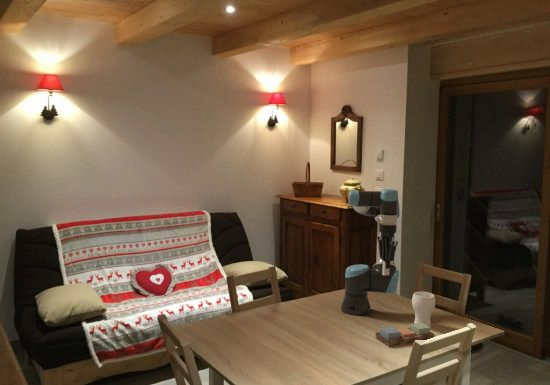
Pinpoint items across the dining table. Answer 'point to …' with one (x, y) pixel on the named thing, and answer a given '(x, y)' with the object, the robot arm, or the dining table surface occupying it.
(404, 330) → the cap terracotta
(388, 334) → the cap slate
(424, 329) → the cap sage
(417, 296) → the cup
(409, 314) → the dining table surface
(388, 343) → the button board
